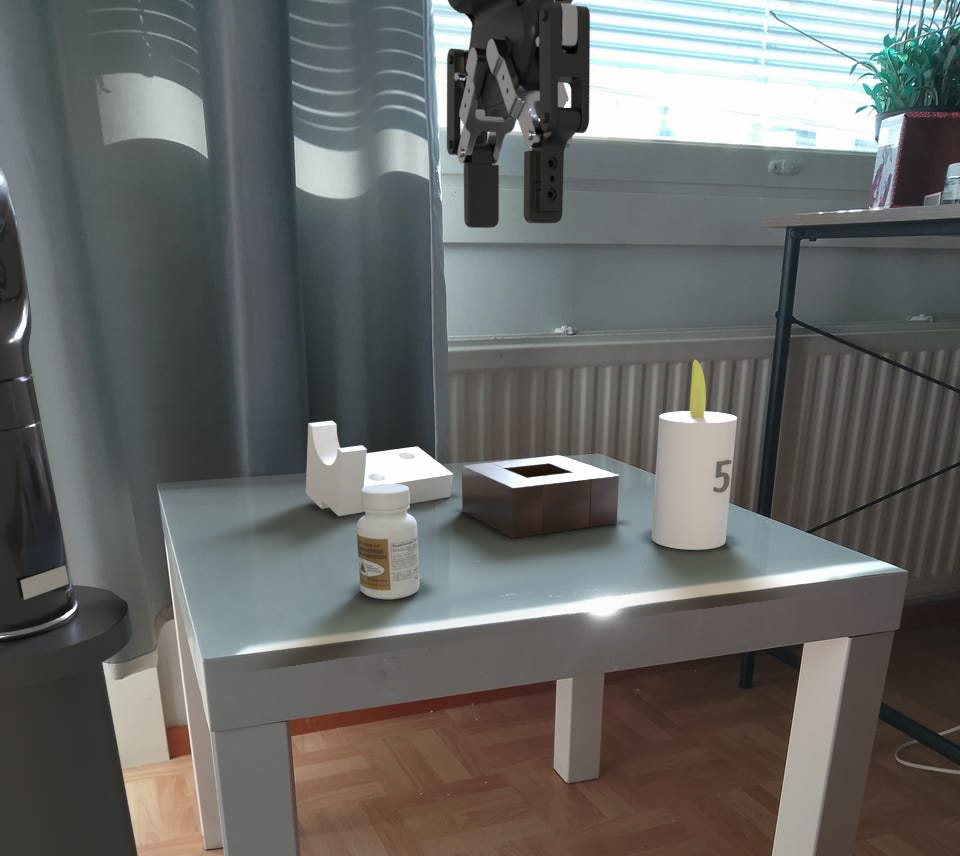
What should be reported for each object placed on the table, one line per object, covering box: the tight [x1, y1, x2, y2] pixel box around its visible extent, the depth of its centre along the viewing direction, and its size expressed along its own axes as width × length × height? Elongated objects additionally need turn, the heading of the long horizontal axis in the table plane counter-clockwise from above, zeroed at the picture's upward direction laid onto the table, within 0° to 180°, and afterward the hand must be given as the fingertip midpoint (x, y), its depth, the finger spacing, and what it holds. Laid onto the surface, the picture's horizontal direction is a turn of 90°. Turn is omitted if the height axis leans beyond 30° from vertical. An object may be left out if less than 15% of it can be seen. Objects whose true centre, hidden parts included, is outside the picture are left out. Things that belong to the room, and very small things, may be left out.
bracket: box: [305, 420, 454, 517], centre depth 94 cm, size 13×7×8 cm, turn 125°
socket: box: [461, 454, 620, 539], centre depth 88 cm, size 11×11×4 cm
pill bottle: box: [356, 483, 420, 600], centre depth 68 cm, size 4×4×8 cm
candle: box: [651, 359, 738, 551], centre depth 78 cm, size 6×6×15 cm
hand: (510, 225), depth 58 cm, fingers open, 8 cm apart
